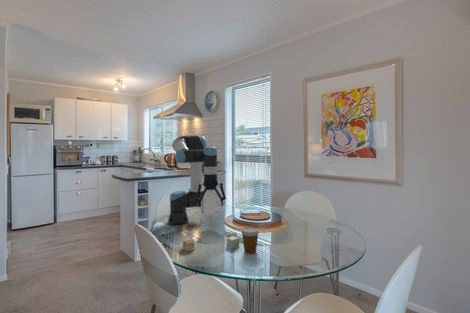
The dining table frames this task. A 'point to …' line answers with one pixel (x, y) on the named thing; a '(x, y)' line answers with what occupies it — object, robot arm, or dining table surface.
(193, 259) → the dining table surface
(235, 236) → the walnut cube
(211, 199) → the mug
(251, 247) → the disposable coffee cup
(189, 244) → the oak cube
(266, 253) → the dining table surface
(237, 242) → the sage painted cube
